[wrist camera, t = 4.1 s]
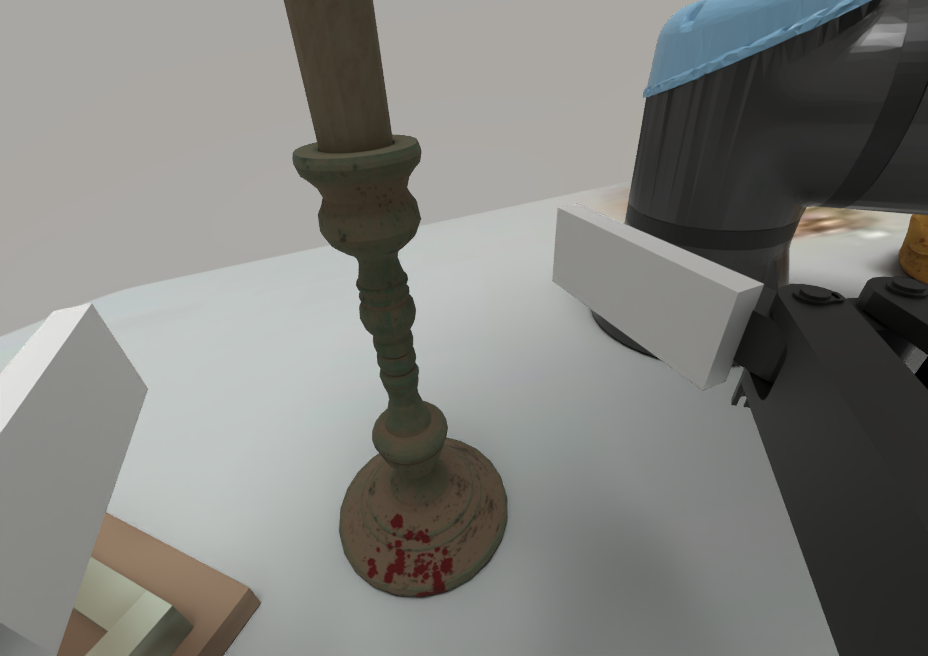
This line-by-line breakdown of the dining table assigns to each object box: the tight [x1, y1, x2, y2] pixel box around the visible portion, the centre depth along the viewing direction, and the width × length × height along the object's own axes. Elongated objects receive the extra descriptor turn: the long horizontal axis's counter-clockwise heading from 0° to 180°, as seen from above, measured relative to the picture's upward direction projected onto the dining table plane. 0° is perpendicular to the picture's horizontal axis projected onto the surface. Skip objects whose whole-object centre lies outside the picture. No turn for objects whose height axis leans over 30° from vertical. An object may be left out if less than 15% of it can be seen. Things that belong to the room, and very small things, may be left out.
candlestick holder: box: [284, 0, 507, 597], centre depth 14 cm, size 9×9×30 cm
